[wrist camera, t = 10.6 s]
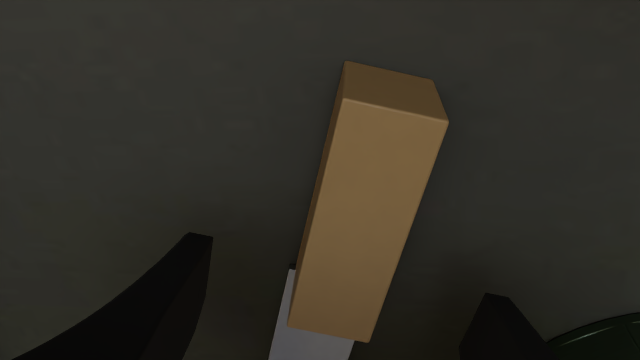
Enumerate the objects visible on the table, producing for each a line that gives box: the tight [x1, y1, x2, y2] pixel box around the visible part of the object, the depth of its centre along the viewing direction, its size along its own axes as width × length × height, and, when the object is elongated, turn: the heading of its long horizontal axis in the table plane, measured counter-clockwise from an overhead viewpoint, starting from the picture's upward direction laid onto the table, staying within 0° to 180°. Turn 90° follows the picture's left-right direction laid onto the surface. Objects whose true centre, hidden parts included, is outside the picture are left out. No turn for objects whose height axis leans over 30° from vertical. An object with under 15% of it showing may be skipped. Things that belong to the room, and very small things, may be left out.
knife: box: [268, 61, 449, 360], centre depth 17 cm, size 18×3×3 cm, turn 168°
